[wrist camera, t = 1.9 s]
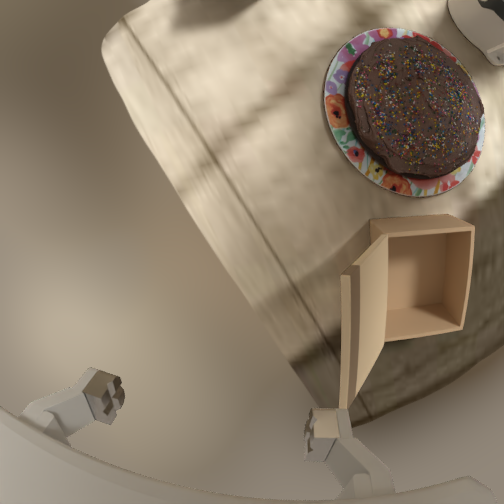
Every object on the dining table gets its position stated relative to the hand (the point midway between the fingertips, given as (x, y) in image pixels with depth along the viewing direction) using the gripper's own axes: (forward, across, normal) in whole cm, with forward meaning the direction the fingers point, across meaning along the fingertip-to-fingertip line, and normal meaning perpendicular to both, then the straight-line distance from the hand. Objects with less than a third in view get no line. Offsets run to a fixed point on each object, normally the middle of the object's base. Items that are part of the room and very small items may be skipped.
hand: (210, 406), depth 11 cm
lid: (+20, -14, +6) cm, 25 cm away
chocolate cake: (+36, -21, -20) cm, 46 cm away
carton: (+35, -24, +4) cm, 43 cm away
